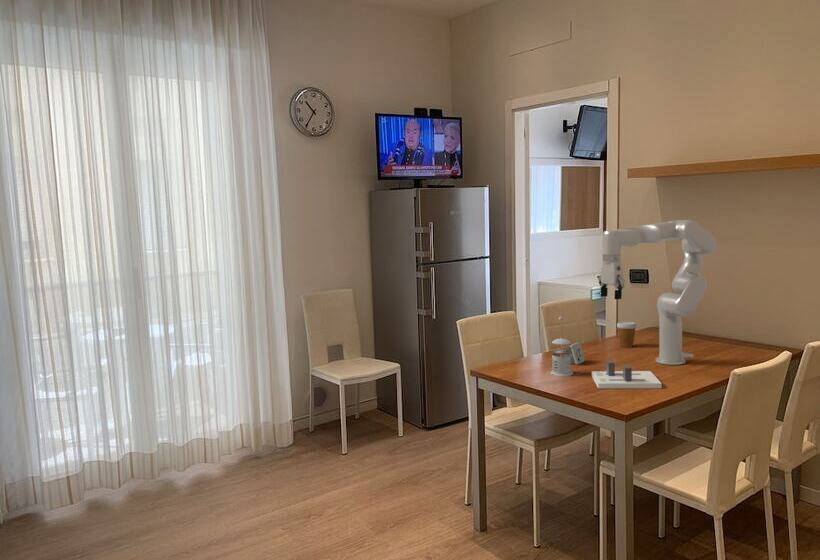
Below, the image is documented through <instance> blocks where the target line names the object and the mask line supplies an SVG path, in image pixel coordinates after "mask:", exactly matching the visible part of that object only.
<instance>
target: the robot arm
mask: <svg viewBox="0 0 820 560" xmlns="http://www.w3.org/2000/svg"><path fill="white" fill-rule="evenodd" d="M674 240H681V249H682V252H683V256H684V259H683V262H682V264H681V266H680V268H679V270H678V271H677V273H676V274H675V276H674V278H673V280H672V282H671V287H672V290H673V291H674V292H676V293H674V292H665V293H662V294H660V295H659V297H658V298H657V301H656V306H657V312H658V317H659V318H658V319H659V322H658V323H659V324H658V325H659V330H658V333H659V335H658V336H659V338H658V339H659V342H658V343H659V344H658V346H659V347H658V348H659V351H658V352H659V353H658V354H659V356H657V357H656V358H655V362H656V363H658V364H661V365H667V366H668V365H670V366H675V365H676V366H678V365H684V364H686V363H687V362H686V359H694V353H684V351H683V321H682V317H689V316H691V314H693V313H694V312H695V310H696V308H697V307H698V305H699V304H700V302H701V301H702V298H703V297H704V295H705V293H706V291H707V287H708V285H707V283H708V282H707V279H706V278H705V277H704V275H701V273H702V271H703V268H704V259H703V258H704V257H703V256H702V255H709V254H711V253H713V252H714V251H716V249H717V240H716V238H715V237H714V236H713V234H711V233H710V232H709V231H708V230H706V229H705V228H704V227H703V226H702V225H700V224H699V223H697V222H696V221H694V220H692V219H676V220H669V221H663V222H656V223H650V224H649V223H648V224H643V225H637V226H630V227H623V228H618V229H615V230H614V229H608V230H604V231H603V233H602V261H601V262H602V263H601V270H600V275H599V276H598V277H597V279H598V284H599V288H600V297H601V298H605V297H608V289H609V288H608V285H609V286H614V289H615V290H614V296H613V297H614V300H622V296H623V295H622V293H623V289H624V287H625V283H626V279H624V271H623V270H624V269H623V263H622V262H621V259H622V247H627V248H632V247H635V246H638V245H639V244H656V243H657V244H658V243H663V242H668V241H669V242H670V241H674Z"/></svg>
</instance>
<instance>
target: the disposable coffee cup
mask: <svg viewBox="0 0 820 560" xmlns="http://www.w3.org/2000/svg"><path fill="white" fill-rule="evenodd" d="M616 327H617V331H618V333H617V334H618V340H619V347H621V346H623V347H622V348H626V347H629V348H633V347H634V343H635V334H636V327H637V323H636V322H634V321H619V322H617V324H616ZM632 346H633V347H632Z"/></svg>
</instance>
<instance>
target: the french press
mask: <svg viewBox="0 0 820 560" xmlns="http://www.w3.org/2000/svg"><path fill="white" fill-rule="evenodd" d="M563 319H564V317H562V316H559V317H558V320H559V321H562V320H563ZM551 344H553V345H555V346H558V349H554V350H553V351H552V353H553V354H552V355H551V357H552V359H551V360H552V362H551V363H552V364H551V365H552V371H550V374H551V375H552V374H553V375H552V376H556V375H557V376H558V377H566V376H567V377H568V376H572V375H574V372H573V371H572V364H571V355H570V354H571V353H570V354H568V353H569V352H570V351H569V350H566V349H564V346H568V345H569V346H570V345H571V341H570V340H568V339H566V338H562V337H560V338H557V339H554V340H553V341H551ZM557 376H556V377H557Z"/></svg>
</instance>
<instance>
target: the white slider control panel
mask: <svg viewBox="0 0 820 560" xmlns="http://www.w3.org/2000/svg"><path fill="white" fill-rule="evenodd" d="M615 366H616V365H615V362H614V359H606V371H605V370H604V371H601V370H599V371H598V370H597V371H596V370H595V371H591V377H592V380H593V381H594V384H595V385H596V387H597V389H662V388H663V387H662V385H663V384H662V382H661V381H660V380H659V379H658V377H657V376H656V375H655V374H654V373H653V371H651V370H636V371H635V370H632V381H625V380H624V378H623V370H620V371H617V370H615Z"/></svg>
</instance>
